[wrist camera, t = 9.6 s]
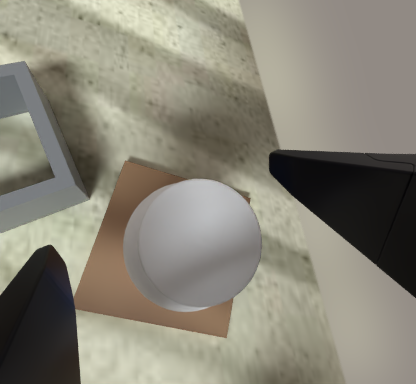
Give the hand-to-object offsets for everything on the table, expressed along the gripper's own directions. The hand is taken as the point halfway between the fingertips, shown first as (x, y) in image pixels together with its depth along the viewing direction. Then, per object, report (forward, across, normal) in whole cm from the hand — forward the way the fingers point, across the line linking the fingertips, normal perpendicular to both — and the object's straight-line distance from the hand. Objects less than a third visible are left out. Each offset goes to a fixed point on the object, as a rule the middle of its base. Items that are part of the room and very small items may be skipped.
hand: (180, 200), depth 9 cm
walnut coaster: (+5, 0, +7) cm, 9 cm away
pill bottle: (+5, 0, +7) cm, 8 cm away
